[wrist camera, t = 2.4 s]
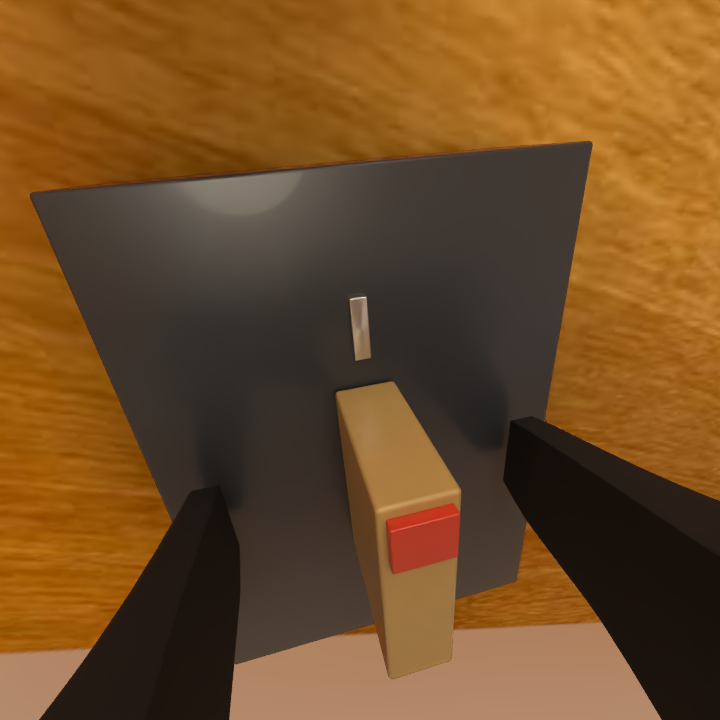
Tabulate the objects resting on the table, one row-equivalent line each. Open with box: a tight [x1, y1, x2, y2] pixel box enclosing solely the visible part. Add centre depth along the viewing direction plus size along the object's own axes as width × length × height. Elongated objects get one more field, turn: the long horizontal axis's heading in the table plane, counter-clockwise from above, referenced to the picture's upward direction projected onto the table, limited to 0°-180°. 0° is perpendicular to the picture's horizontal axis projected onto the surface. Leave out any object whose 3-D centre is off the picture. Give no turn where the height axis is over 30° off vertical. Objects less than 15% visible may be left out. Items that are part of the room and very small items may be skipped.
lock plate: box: [30, 141, 592, 664], centre depth 11 cm, size 14×10×3 cm
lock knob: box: [335, 381, 461, 679], centre depth 8 cm, size 5×1×4 cm, turn 4°
